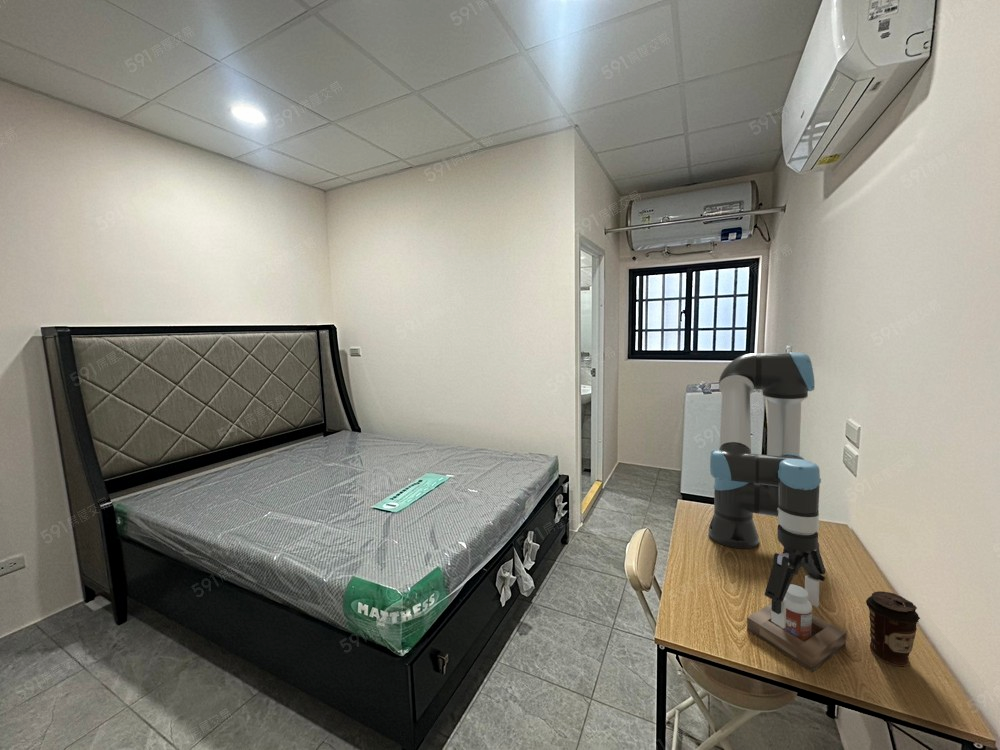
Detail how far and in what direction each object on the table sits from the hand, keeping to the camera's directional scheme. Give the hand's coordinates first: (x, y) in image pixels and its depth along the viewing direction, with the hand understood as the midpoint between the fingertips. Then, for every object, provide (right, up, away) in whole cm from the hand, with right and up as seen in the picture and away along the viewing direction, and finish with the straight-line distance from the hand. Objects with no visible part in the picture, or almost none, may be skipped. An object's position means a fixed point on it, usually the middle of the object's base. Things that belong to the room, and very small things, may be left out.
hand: (795, 613), depth 95 cm
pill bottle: (0, -5, +1) cm, 5 cm away
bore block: (0, -6, +1) cm, 6 cm away
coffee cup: (+17, -6, -6) cm, 19 cm away
